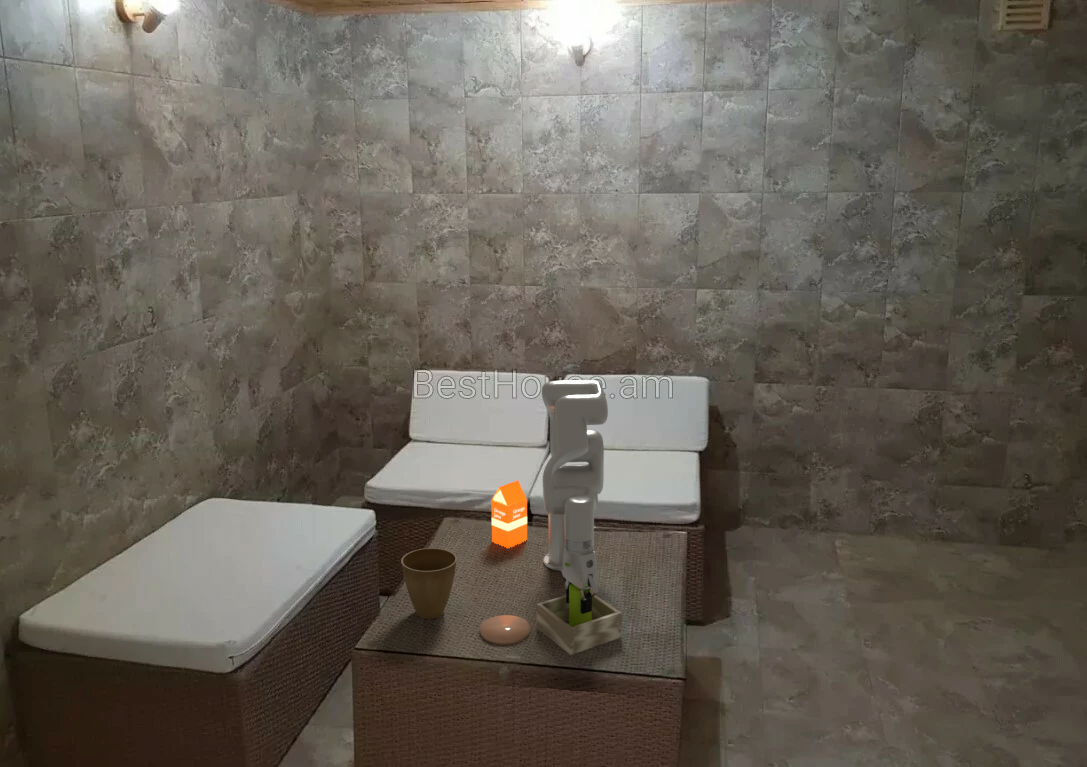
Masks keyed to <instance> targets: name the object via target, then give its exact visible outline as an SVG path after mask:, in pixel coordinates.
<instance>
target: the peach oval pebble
mask: <svg viewBox="0 0 1087 767" xmlns="http://www.w3.org/2000/svg"><path fill="white" fill-rule="evenodd" d="M530 630H531V626H530V623H529V622H528V620H526V619H524V618H523V617H520V616H518V615H511V614H509V615H508V614H504V615H501V614H500V615H495V616H492V617H489V618H487V619H486V620H484V621H483V622H482V623H481V625H480V631H479V632H480V635H481V637H482V639H484V640H485V641H487V642H489V643H492V644H497V645H511V644H516V643H520V642H522V641H523V640H526V639H527V638H528V637H529V635H530V633H531V632H530Z"/></svg>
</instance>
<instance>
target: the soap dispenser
mask: <svg viewBox="0 0 1087 767" xmlns="http://www.w3.org/2000/svg"><path fill="white" fill-rule="evenodd" d="M565 566H566V567H570V565H569V564H567V563H565ZM586 586H588V585H586ZM586 586H585V587H586ZM587 593H588V589H587V590H585V594H587ZM581 599H582V595H581V590H580V588H578V587H577V586H575V585H574V584H570V585H569V620H568V621H569V622H568V625H569V626H571V627H574V626H577V625H580V624H583V623H586V622H589V621H592V611H590V612H587V613H584V614H582V613H581Z"/></svg>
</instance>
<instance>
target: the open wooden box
mask: <svg viewBox="0 0 1087 767" xmlns="http://www.w3.org/2000/svg"><path fill="white" fill-rule="evenodd" d="M622 616H623V612H621V611H620V610H618V609H617V608H616V607H614V606H612V604H610V603H608V602H607V601H605V600H604V599H602V598H600V597H599V596H597V595H596V594H595V596H593V598H592V621H589V622H586V623H583V624H580V625H577V626H574V627H571V626H569V623H566V621H569V603H566V594H564V595H562V596H558V597H555V598H552V599H548V600H546V601H541V602H538V603H537V604H536V629H538V630H539V631H540V632H541V633H543V634H544V635H545V636H546V637H547V638H548V639H550V640H551V641H553V642H554V644H556V645H557V646H558V647H560V648H561V649H562V650H564V651H565V652H566V653H567V654H568V655H569V656H572V655H575V654H577V653H580V652H583V651H586V650H589V649H592V648H595V647H597V646H600V645H603V644H606V643H609V642H611V641H615V640H617V639H620V638H622V625H623V624H622V621H623V620H622V619H623V617H622Z"/></svg>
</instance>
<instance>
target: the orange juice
mask: <svg viewBox="0 0 1087 767" xmlns="http://www.w3.org/2000/svg"><path fill="white" fill-rule="evenodd" d="M490 503H491V535H492V536H491V542H492V543H493V542H494V544H496V545H498V544H499V546H500V545H501V547H503V546H504V547H503V548H505V547H506V548H505V549H508V548H509V549H510V547H511V548H513V547H515V545H516V546H518V545H521V544H522V542H523V543H524V541H525V542H527V541H528V499H527V497H526V495H525V492H524V490H523V488H522V486H521V484H520V481H519V479H518V480H515V481H512V482H510V483H507V484H505V485H501V486H499V487H498V488H497V490H496V492H495V493H494V496H492V499H491V502H490ZM526 540H527V541H526ZM517 544H518V545H517Z"/></svg>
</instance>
